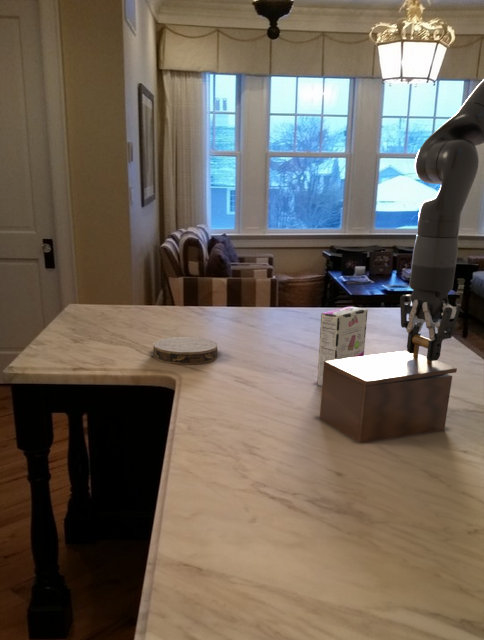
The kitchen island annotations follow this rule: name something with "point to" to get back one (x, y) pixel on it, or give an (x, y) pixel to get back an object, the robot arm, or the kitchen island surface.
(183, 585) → the kitchen island surface
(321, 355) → the candy bar box
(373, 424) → the chest
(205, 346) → the grey round disc
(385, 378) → the lid
